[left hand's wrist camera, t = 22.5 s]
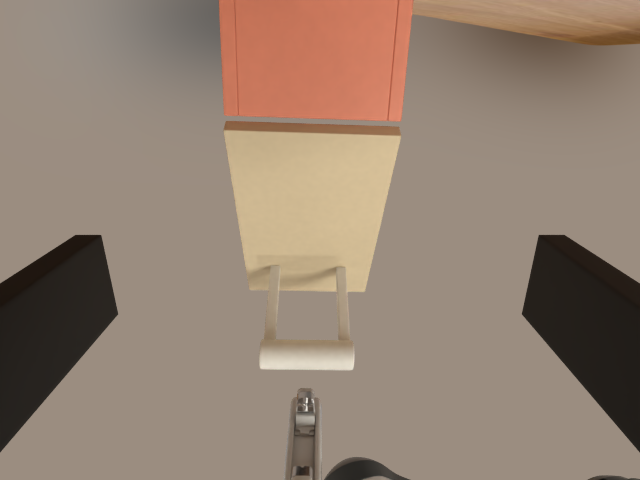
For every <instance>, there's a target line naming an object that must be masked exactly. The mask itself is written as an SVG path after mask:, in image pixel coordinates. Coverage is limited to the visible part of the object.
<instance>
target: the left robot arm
mask: <svg viewBox="0 0 640 480" xmlns="http://www.w3.org/2000/svg"><path fill="white" fill-rule="evenodd" d="M117 315H118V311H117V307H116V302H115V297H114V293H113V288H112V283H111V279H110V274H109V269H108V265H107V260H106V255H105V251H104V246H103V241H102V237H101V235H75V236H73V237H72V238H70V239H69V240H67V241H66V242H64V243H62V244H61V245H59V246H58V247H56V248H55V249H53V250H52V251H50V252H48V253H47V254H45V255H44V256H42V257H41V258H39V259H38V260H36V261H34V262H33V263H31V264H30V265H28V266H27V267H25V268H24V269H22V270H21V271H19V272H17V273H16V274H14V275H13V276H11V277H10V278H8V279H7V280H5V281H3V282H2V283H0V452H1V451H2V450H3V448H4V447H5V446H6V445H7V444H8V443H9V441H10V440H11V439H12V438H13V437H14V436H15V434H16V433H17V432H18V431H19V430H20V429H21V427H22V426H23V425H24V424H25V423H26V421H27V420H28V419H29V418H30V417H31V416H32V414H33V413H34V412H35V411H36V410H37V409H38V407H39V406H40V405H41V404H42V403H43V402H44V400H45V399H46V398H47V397H48V396H49V394H50V393H51V392H52V391H53V390H54V389H55V388H56V386H57V385H58V384H59V383H60V382H61V380H62V379H63V378H64V377H65V376H66V375H67V373H68V372H69V371H70V370H71V369H72V368H73V366H74V365H75V364H76V363H77V362H78V361H79V359H80V358H81V357H82V356H83V355H84V354H85V352H86V351H87V350H88V349H89V348H90V347H91V345H92V344H93V343H94V342H95V341H96V339H97V338H98V337H99V336H100V335H101V334H102V332H103V331H104V330H105V329H106V328H107V327H108V325H109V324H110V323H111V322H112V321H113V320H114V318H115V317H116V316H117ZM522 315H523V316H524V317H525V318H526V320H527V321H528V322H529V323H530V324H531V325H532V327H533V328H534V329H535V330H536V331H537V332H538V334H539V335H540V336H541V337H542V338H543V339H544V341H545V342H546V343H547V344H548V345H549V347H550V348H551V349H552V350H553V351H554V352H555V354H556V355H557V356H558V357H559V358H560V359H561V361H562V362H563V363H564V364H565V365H566V366H567V368H568V369H569V370H570V371H571V372H572V373H573V375H574V376H575V377H576V378H577V379H578V380H579V382H580V383H581V384H582V385H583V386H584V388H585V389H586V390H587V391H588V392H589V393H590V394H591V396H592V397H593V398H594V399H595V400H596V402H597V403H598V404H599V405H600V406H601V407H602V409H603V410H604V411H605V412H606V413H607V414H608V416H609V417H610V418H611V419H612V420H613V421H614V423H615V424H616V425H617V426H618V427H619V428H620V430H621V431H622V432H623V433H624V434H625V436H626V437H627V438H628V439H629V440H630V441H631V443H632V444H633V445H634V446H635V447H636V448H637V450H638V451H639V452H640V283H638V282H637V281H635V280H633V279H632V278H630V277H629V276H627V275H626V274H624V273H623V272H621V271H620V270H618V269H616V268H615V267H613V266H612V265H610V264H609V263H607V262H605V261H604V260H602V259H601V258H599V257H598V256H596V255H595V254H593V253H592V252H590V251H588V250H587V249H585V248H584V247H582V246H581V245H579V244H578V243H576V242H574V241H573V240H571V239H570V238H568V237H567V236H565V235H539V237H538V241H537V246H536V251H535V255H534V260H533V265H532V269H531V274H530V279H529V283H528V288H527V293H526V297H525V302H524V307H523V311H522Z"/></svg>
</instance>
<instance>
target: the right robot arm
mask: <svg viewBox="0 0 640 480" xmlns="http://www.w3.org/2000/svg"><path fill="white" fill-rule="evenodd" d="M321 452H322V450H321V401H320V399H318V398H314V390H313V389H311V388H301V389H299V390H298V393H297V397H295V398H293V399H292V401H291V407H290V417H289V428H288V438H287V449H286V459H285V470H284V480H322V458H321V457H322V456H321V454H322V453H321ZM324 480H409V479H407V478H404V477H402V476H399V475H397V474H395V473H394V472H392V471H391V470H389V469H388V468H387V467H385V466H384V465H382V464H381V463H378V462H376V461H374V460H371V459H368V458H362V457H352V458H348V459H345V460H343V461H341V462H340V463H338V464H337V465H336V466H335V467H334V468H333V469H332V470H331V471H330V472H329V473H328V474H327V476H326V478H325V479H324ZM588 480H640V479H635V478H631V479H627V478H624V477H621V476H608V475H606V476H596V477H593V478H590V479H588Z"/></svg>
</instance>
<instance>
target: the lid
mask: <svg viewBox="0 0 640 480" xmlns="http://www.w3.org/2000/svg"><path fill="white" fill-rule="evenodd" d="M224 137H225V143H226V149H227V155H228V161H229V167H230V173H231V180H232V186H233V192H234V198H235V204H236V210H237V216H238V222H239V229H240V235H241V241H242V247H243V253H244V259H245V265H246V272H247V278H248V284H249V289H250V290H268V300H267V311H266V322H265V333H264V339H263V340H261V344H260V353H259V365H260V369H297V370H353V368H354V344H353V341H350V330H349V313H348V296H347V292H365V289H366V285H367V280H368V276H369V272H370V267H371V263H372V259H373V255H374V250H375V246H376V242H377V238H378V233H379V229H380V225H381V221H382V216H383V212H384V208H385V204H386V199H387V195H388V191H389V186H390V182H391V178H392V173H393V169H394V165H395V161H396V157H397V152H398V148H399V144H400V140H401V133H400V129H399V127H390V126H360V125H330V124H301V123H271V122H241V121H226V122H225V127H224ZM279 290H287V291H337V316H338V340H276V327H277V313H278V299H279Z"/></svg>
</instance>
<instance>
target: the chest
mask: <svg viewBox="0 0 640 480" xmlns="http://www.w3.org/2000/svg"><path fill="white" fill-rule="evenodd" d="M412 9H413V0H219V14H220V36H221V58H222V79H223V101H224V115H225V116H238V115H239V116H254V117H282V118H312V119H341V120H371V121H401V118H402V108H403V98H404V88H405V78H406V69H407V59H408V48H409V39H410V28H411V19H412Z"/></svg>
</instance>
